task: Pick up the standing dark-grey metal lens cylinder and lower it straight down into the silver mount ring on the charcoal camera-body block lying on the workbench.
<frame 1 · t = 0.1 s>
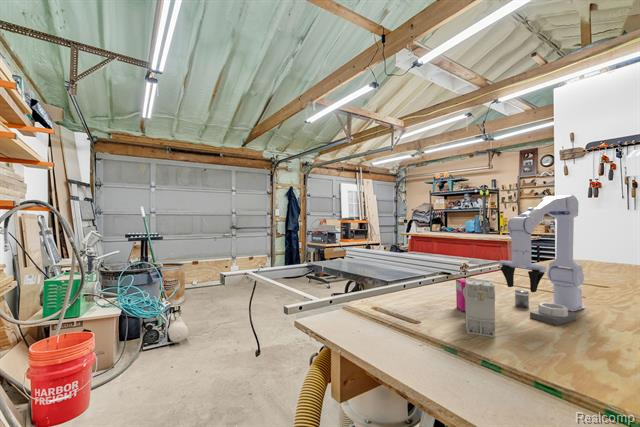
hand: (521, 289, 100), 10 cm above the table, fingers open, 7 cm apart
camera body: (552, 318, 99), on the table
circuit breaker: (478, 327, 92), on the table
supplement box: (466, 310, 108), on the table
lens: (521, 306, 113), on the table
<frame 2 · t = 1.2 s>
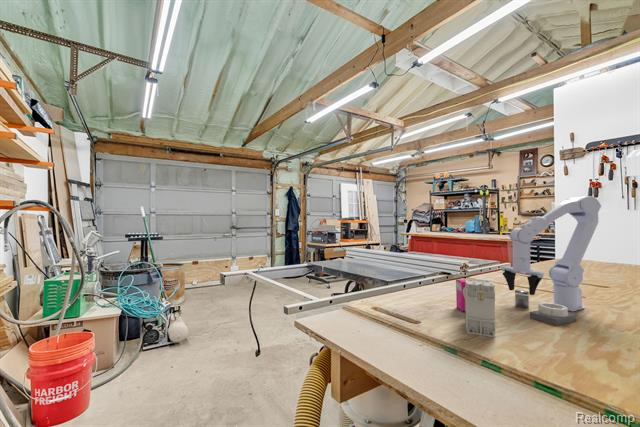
hand: (521, 292, 113), 6 cm above the table, fingers open, 7 cm apart
nothing on the table moved.
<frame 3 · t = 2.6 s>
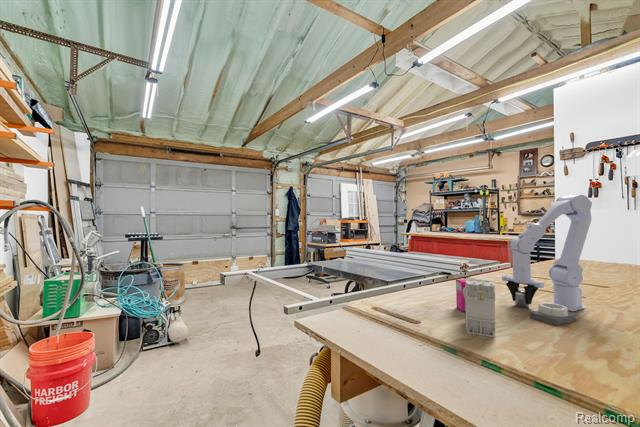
hand: (521, 302, 113), 2 cm above the table, fingers closed on lens, 4 cm apart
lens: (521, 306, 113), on the table, touching gripper
everything else where it was.
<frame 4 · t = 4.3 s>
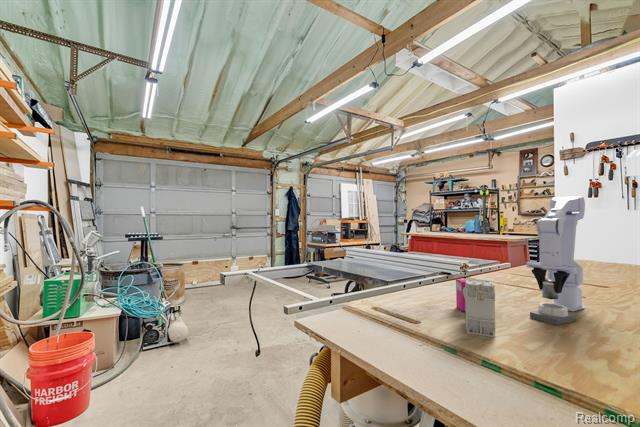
hand: (550, 291, 100), 9 cm above the table, fingers closed on lens, 4 cm apart
lens: (550, 297, 100), point 7 cm above the table, touching gripper
everything else where it was.
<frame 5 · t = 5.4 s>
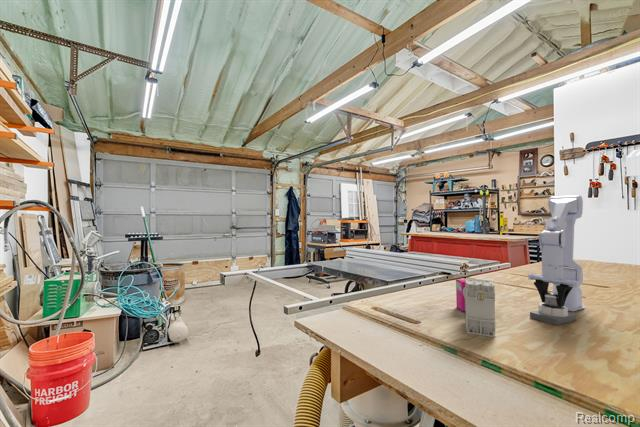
hand: (552, 304, 99), 5 cm above the table, fingers closed on lens, 4 cm apart
lens: (552, 310, 99), point 3 cm above the table, touching gripper
everything else where it was.
when the fingers open (5 cm above the table, at t = 6.3 s): lens stays where it is, resting on camera body.
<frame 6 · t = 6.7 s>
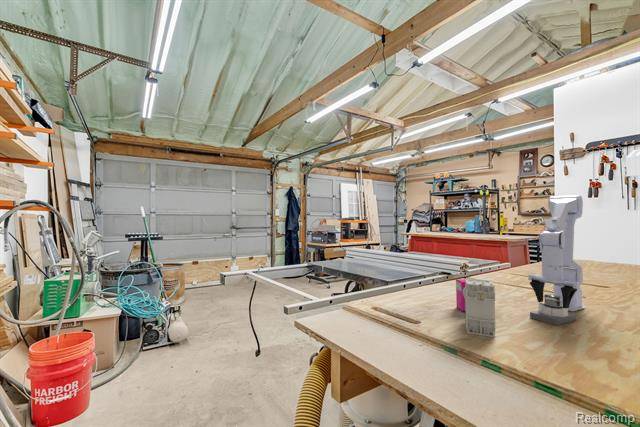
hand: (552, 304, 99), 5 cm above the table, fingers open, 7 cm apart
lens: (552, 313, 99), point 2 cm above the table, touching camera body
everything else where it was.
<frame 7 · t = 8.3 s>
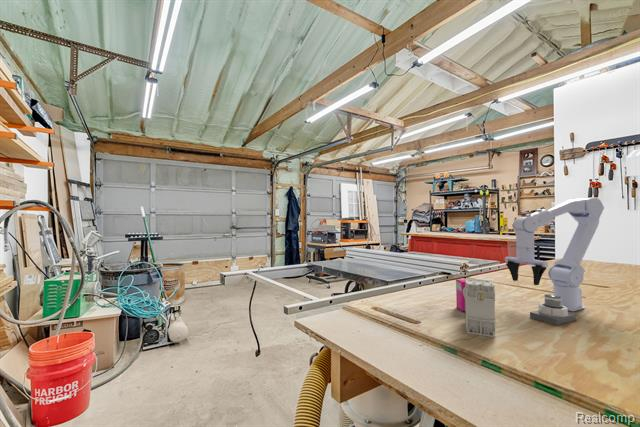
hand: (525, 282, 110), 10 cm above the table, fingers open, 7 cm apart
nothing on the table moved.
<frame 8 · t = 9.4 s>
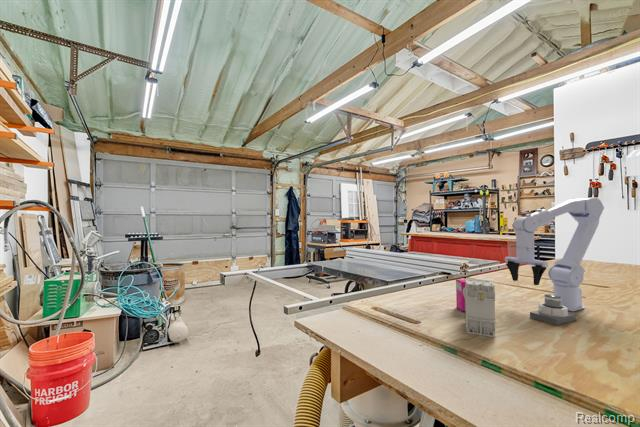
hand: (525, 282, 110), 10 cm above the table, fingers open, 7 cm apart
nothing on the table moved.
at the end: lens 0.0 cm off-centre on the camera body, point 2.0 cm above the camera body's base; lens tilted 0°; the gripper is holding nothing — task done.
